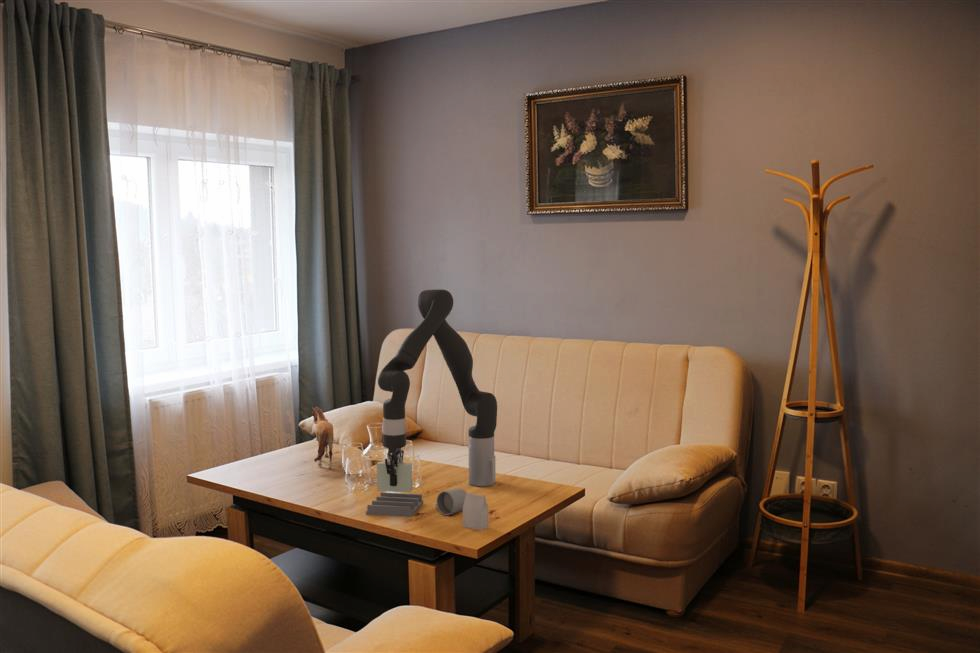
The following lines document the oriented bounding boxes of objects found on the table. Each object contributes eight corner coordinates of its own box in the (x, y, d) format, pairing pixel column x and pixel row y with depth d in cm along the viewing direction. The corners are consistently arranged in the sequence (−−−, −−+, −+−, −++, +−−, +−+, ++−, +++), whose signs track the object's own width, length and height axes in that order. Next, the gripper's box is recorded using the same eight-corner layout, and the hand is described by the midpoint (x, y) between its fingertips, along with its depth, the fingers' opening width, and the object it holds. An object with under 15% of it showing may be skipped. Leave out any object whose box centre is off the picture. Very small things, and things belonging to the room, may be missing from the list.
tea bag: (481, 530, 246) (481, 497, 246) (462, 526, 250) (462, 494, 249) (488, 527, 249) (488, 494, 249) (469, 523, 253) (469, 491, 252)
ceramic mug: (470, 511, 265) (470, 487, 264) (454, 517, 258) (453, 493, 258) (445, 505, 271) (445, 482, 271) (428, 511, 265) (428, 488, 264)
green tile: (412, 490, 267) (412, 463, 266) (410, 492, 265) (409, 464, 264) (379, 488, 269) (379, 461, 268) (377, 490, 267) (376, 463, 266)
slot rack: (423, 503, 273) (423, 494, 273) (411, 516, 259) (411, 507, 259) (379, 501, 276) (379, 492, 276) (365, 514, 262) (365, 505, 262)
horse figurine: (312, 455, 340) (311, 405, 338) (332, 453, 341) (331, 404, 340) (314, 474, 310) (312, 420, 308) (335, 473, 311) (334, 419, 310)
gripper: (399, 436, 258) (400, 491, 259) (411, 427, 272) (411, 479, 273) (376, 435, 259) (377, 490, 261) (389, 426, 273) (390, 478, 274)
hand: (394, 484), depth 267 cm, fingers closed on green tile, 2 cm apart
